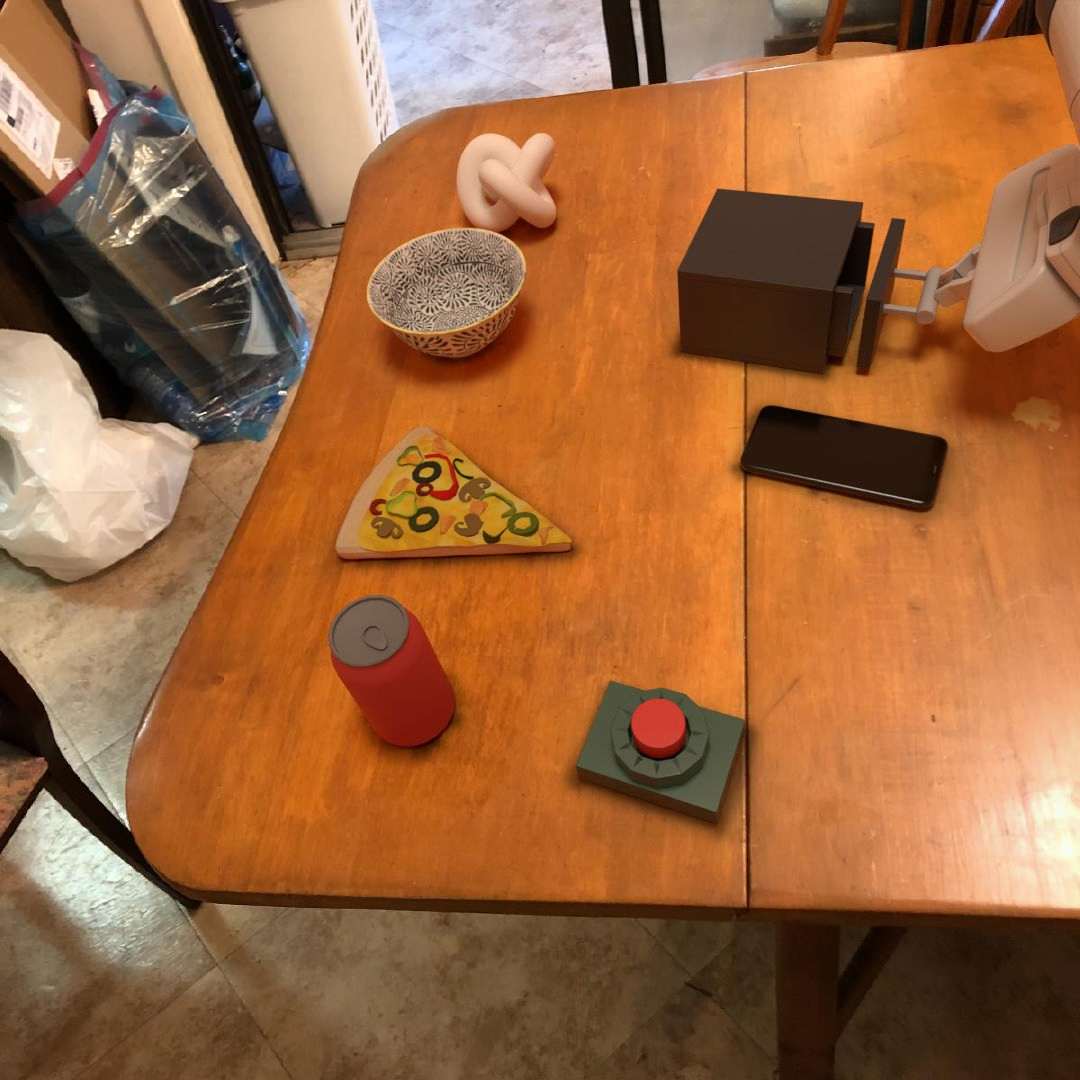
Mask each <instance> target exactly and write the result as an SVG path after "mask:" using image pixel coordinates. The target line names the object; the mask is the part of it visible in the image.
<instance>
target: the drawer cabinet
mask: <svg viewBox="0 0 1080 1080" xmlns="http://www.w3.org/2000/svg"><path fill="white" fill-rule="evenodd" d="M863 209H864V202H863V201H853V200H845V199H843V200H842V199H833V198H832V199H831V198H822V197H811V196H802V195H801V196H800V195H791V194H781V193H780V194H779V193H771V192H759V191H747V190H739V189H738V190H737V189H727V188H717V189H716V190H715V192H714V195H713V197H712V199H711V201H710V203H709V205H708V206H707V208H706V210H705V213H704V215H703V217H702V219H701V220H700V223H699V225H698V227H697V229H696V231H695V234H694V235H693V237H692V240H691V241H690V243H689V246H688V247H687V250H686V252H685V254H684V256H683V258H682V260H681V262H680V264H679V265H678V269H677V271H676V273H677V275H676V276H677V297H678V299H677V300H678V317H679V319H678V321H679V340H680V341H679V342H680V352H682V353H688V354H694V355H701V356H707V357H713V358H720V359H726V360H733V361H739V362H745V363H750V364H757V365H763V366H770V367H776V368H782V369H783V368H784V369H789V370H796V371H801V372H808V373H813V374H814V373H815V374H821V375H823V374H824V373H825V370H826V367H827V365H828V361H829V358H830V355H827V348H828V340H829V331H830V323H831V314H832V306H833V297H834V291H835V288H836V285H837V282H838V279H839V276H840V273H841V270H842V268H843V265H844V262H845V259H846V256H847V253H848V250H849V247H850V244H851V242H852V239H853V236H854V233H855V230H856V227H857V224H858V221H859V222H862V217H863Z"/></svg>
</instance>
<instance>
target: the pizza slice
mask: <svg viewBox="0 0 1080 1080" xmlns="http://www.w3.org/2000/svg"><path fill="white" fill-rule="evenodd" d="M571 545H573V541H572V538H571V537H570V536H569V535H568V534H566V533H565V532H564V531H563V530H561V529H560V528H558V527H557V525H555V524H553V523H552V522H551V521H550V520H549V519H548V518H547V517H546V516H544V515H543V514H542V513H540V512H539V511H538V510H536V509H535V508H534V507H532V505H530V504H529V503H528V502H527V501H524V500H523V499H521V498H519V497H518V496H516V495H514V494H513V493H511V492H510V491H509V490H508V489H506V488H505V487H504V486H502V485H500V484H499V483H498V482H497V481H494V479H492V478H491V477H490V476H488V475H487V474H486V473H484V472H483V471H482V470H481V469H480V468H479V467H478V466H477V465H476V464H475V463H474V462H473V461H472V460H470V459H469V457H467V456H466V455H465V453H463V452H462V451H461V449H459V448H457V446H455V445H453V443H452V442H450V441H449V440H447V439H445V437H444V436H443V435H441V436H440V435H439V434H436V433H435V431H434V430H433V429H431V428H430V427H429V426H426V425H420V426H418V427H415V428H414V429H413V430H412V431H410V432H409V433H408V434H407V435H406V436H404V437H403V438H402V439H401V440H400V441H399V442H398V443H396V444H395V446H393V448H392V449H390V451H388V452H387V454H385V455H384V457H383V458H382V459H381V460H380V461H379V463H377V465H376V466H375V467H374V468H373V469H372V471H371V472H370V474H368V476H367V478H366V479H365V480H364V481H363V483H362V484H361V486H360V487H359V489H358V491H357V493H356V494H355V496H354V497H353V499H352V502H351V504H350V505H349V509H348V511H347V513H346V515H345V518H344V520H343V522H342V524H341V526H340V529H339V532H338V535H337V537H336V541H335V548H334V549H335V553H336V554H337V555H338V556H339V557H340V558H342V559H345V560H359V559H361V560H362V559H391V558H393V559H394V558H395V559H396V558H423V557H424V558H425V557H427V558H429V557H433V558H434V557H448V556H450V557H451V556H475V555H477V556H479V555H480V556H483V555H503V554H521V553H523V554H524V553H551V552H552V553H553V552H557V553H559V552H567V551H570V550H571V549H572V548H571Z"/></svg>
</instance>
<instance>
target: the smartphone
mask: <svg viewBox="0 0 1080 1080" xmlns="http://www.w3.org/2000/svg"><path fill="white" fill-rule="evenodd" d="M948 452H949V443H948V441H947V440H946V439H945V438H944V437H942V436H940V435H936V434H929V433H925V432H920V431H914V430H908V429H902V428H898V427H893V426H886V425H882V424H877V423H871V422H865V421H860V420H854V419H849V418H845V417H839V416H835V415H834V416H833V415H828V414H823V413H817V412H812V411H807V410H802V409H797V408H791V407H785V406H780V405H775V404H774V405H772V404H770V405H769V404H768V405H765V406H763V407H762V408H761V409H760V410H759V412H758V414H757V416H756V418H755V421H754V424H753V426H752V428H751V430H750V433H749V436H748V438H747V440H746V443H745V445H744V448H743V449H742V452H741V455H740V458H739V465H740V467H741V468H742V469H743V470H744V471H746V472H749V473H753V474H756V475H762V476H766V477H771V478H775V479H781V480H785V481H788V482H789V481H790V482H795V483H799V484H804V485H808V486H812V487H817V488H822V489H827V490H831V491H836V492H841V493H845V494H850V495H855V496H860V497H864V498H869V499H874V500H877V501H882V502H888V503H892V504H896V505H901V506H906V507H909V508H910V507H911V508H914V509H915V508H916V509H927V508H930V507H931V506H933V504H934V503H935V501H936V498H937V494H938V491H939V487H940V483H941V480H942V476H943V472H944V468H945V464H946V460H947V455H948Z"/></svg>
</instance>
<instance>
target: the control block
mask: <svg viewBox="0 0 1080 1080" xmlns="http://www.w3.org/2000/svg"><path fill="white" fill-rule="evenodd" d="M651 699H665V700H668V701H671V702H673V703H674V704H676V705H677V706H678V707H679V708H680V709H681V711H682V712H683V714H684V717H685V723H686V740H685V743H684V745H683V746H682V748H681V749H680V750H679V751H678V752H677V753H676V754H674V755H672V756H670V757H667V758H652V757H649V756H647V755H645V754H644V753H642V752H641V751H640V750H639V749H638V748H637V746H636V744H635V742H634V739H633V733H632V728H631V719H632V716H633V713H634V712H635V710H636V709H637V708H638V707H639V706H640V705H641V704H642V703H644V702H646V701H648V700H651ZM587 734H588V735H587V737H586V739H585V741H584V744H583V747H582V749H581V752H580V754H579V757H578V760H577V761H576V764H575V768H576V772H577V774H578V778H579V779H581V780H584V781H587V782H589V783H591V784H595V785H599V786H600V787H604V788H607V789H610V790H613V791H616V792H620V793H622V794H626V795H628V796H631V797H635V798H638V799H640V800H643V801H646V802H649V803H653V804H655V805H658V806H662V807H664V808H667V809H671V810H672V811H673V810H674V811H676V812H679V813H682V814H685V815H688V816H691V817H694V818H697V819H700V820H703V821H706V822H709V823H713V824H716V825H717V824H718V822H719V819H720V817H721V816H720V815H721V812H722V810H723V805H724V804H725V803H724V802H725V800H726V796H727V793H728V790H729V786H730V783H731V779H732V776H733V774H734V770H735V767H736V764H737V760H738V757H739V754H740V750H741V747H742V744H743V741H744V738H745V734H746V719H744V718H741V717H737V716H734V715H731V714H726V713H725V712H720V711H716V710H713V709H710V708H706V707H703V706H699V705H698V704H697V703H696V702H695V701H694V700H693V699H692V698H691V697H690V696H688V695H687V693H683V692H679V691H675V690H672V689H670V688H665V687H657V688H652V689H646V690H645V689H641V688H637V687H635V686H631V685H627V684H624V683H620V682H617V681H614V680H609V682H608V685H607V687H606V690H605V692H604V695H603V697H602V700H601V702H600V705H599V707H598V709H597V712H596V714H595V717H594V719H593V722H592V724H591V727H590V729H589V731H588V733H587Z"/></svg>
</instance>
